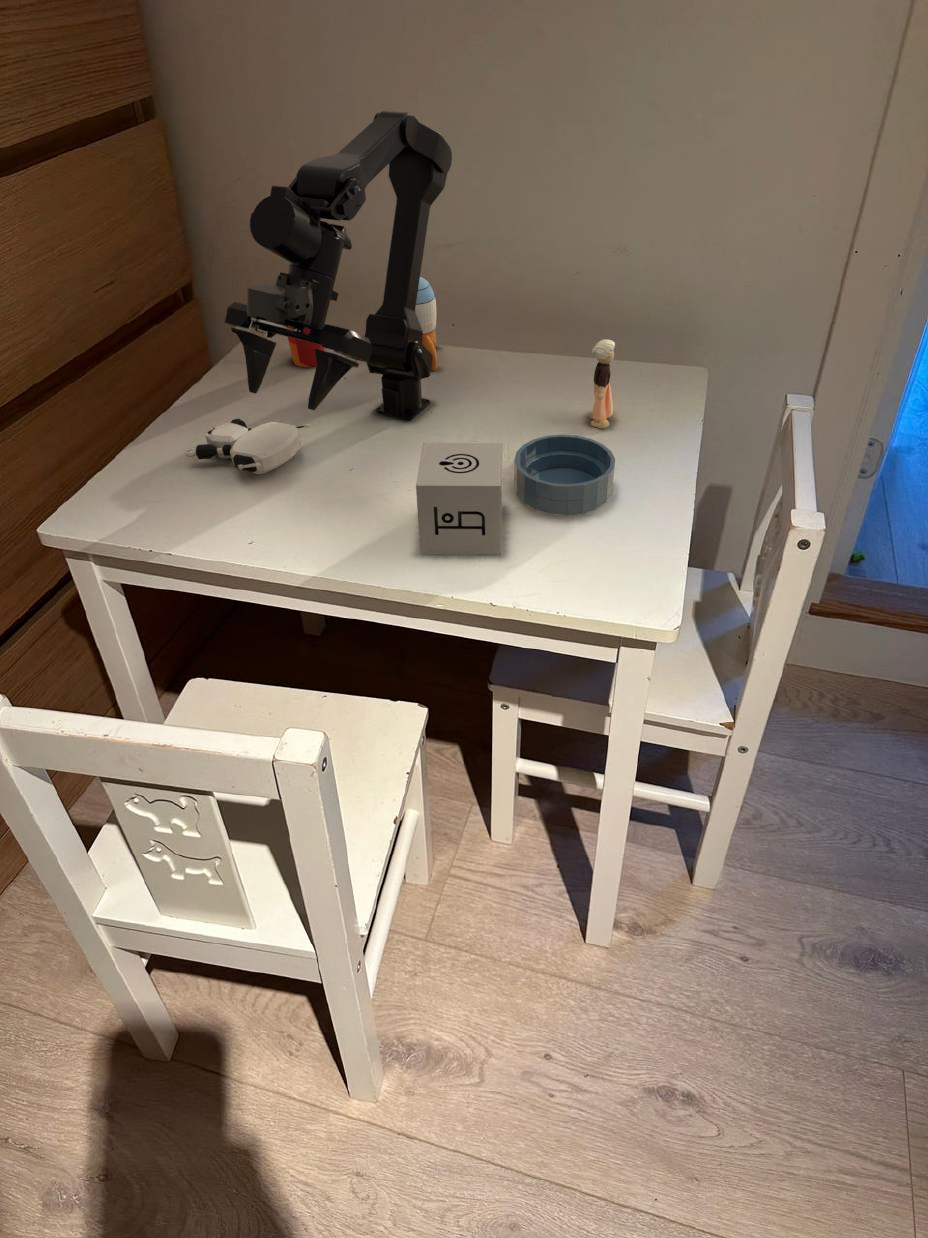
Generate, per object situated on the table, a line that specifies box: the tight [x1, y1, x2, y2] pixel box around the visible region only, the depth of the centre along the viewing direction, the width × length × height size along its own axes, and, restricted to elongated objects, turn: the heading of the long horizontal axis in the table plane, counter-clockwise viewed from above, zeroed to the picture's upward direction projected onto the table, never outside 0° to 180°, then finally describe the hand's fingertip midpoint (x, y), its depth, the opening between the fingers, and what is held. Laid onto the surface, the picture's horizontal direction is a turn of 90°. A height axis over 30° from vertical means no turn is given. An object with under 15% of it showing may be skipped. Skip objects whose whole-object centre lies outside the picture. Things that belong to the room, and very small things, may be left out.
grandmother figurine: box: [589, 339, 616, 429], centre depth 132 cm, size 8×4×13 cm, turn 6°
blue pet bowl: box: [513, 434, 616, 516], centre depth 119 cm, size 13×13×5 cm
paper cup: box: [287, 326, 326, 368], centre depth 150 cm, size 8×8×14 cm
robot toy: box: [185, 418, 311, 475], centre depth 128 cm, size 12×4×15 cm
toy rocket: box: [415, 276, 438, 372], centre depth 149 cm, size 10×11×15 cm
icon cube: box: [415, 442, 503, 556], centre depth 111 cm, size 10×10×10 cm
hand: (281, 401), depth 111 cm, fingers open, 9 cm apart
